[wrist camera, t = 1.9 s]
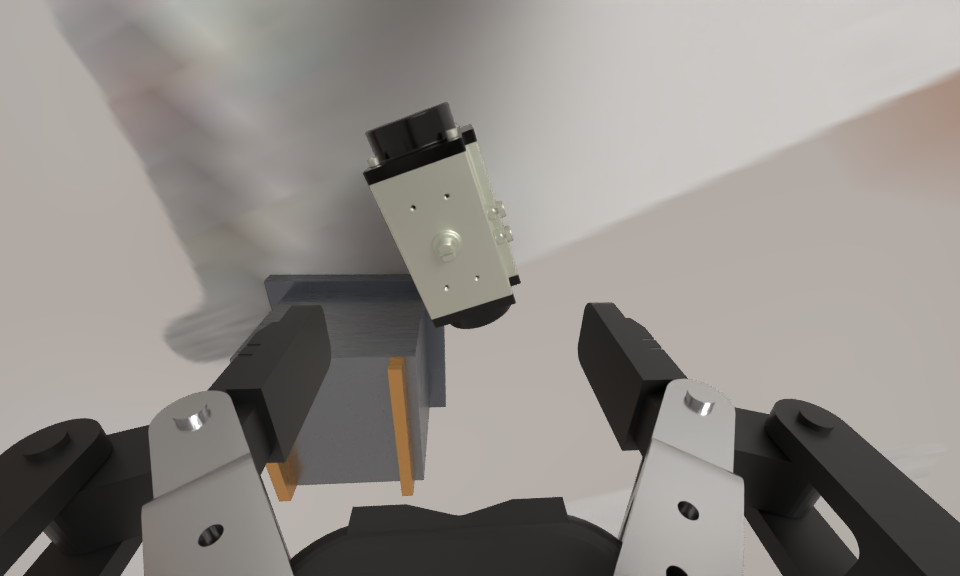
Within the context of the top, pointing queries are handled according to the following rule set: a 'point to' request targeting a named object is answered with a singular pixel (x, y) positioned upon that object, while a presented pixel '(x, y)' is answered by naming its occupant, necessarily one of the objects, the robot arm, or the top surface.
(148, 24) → the top surface
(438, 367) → the orange-striped grey block
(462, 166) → the pneumatic valve
